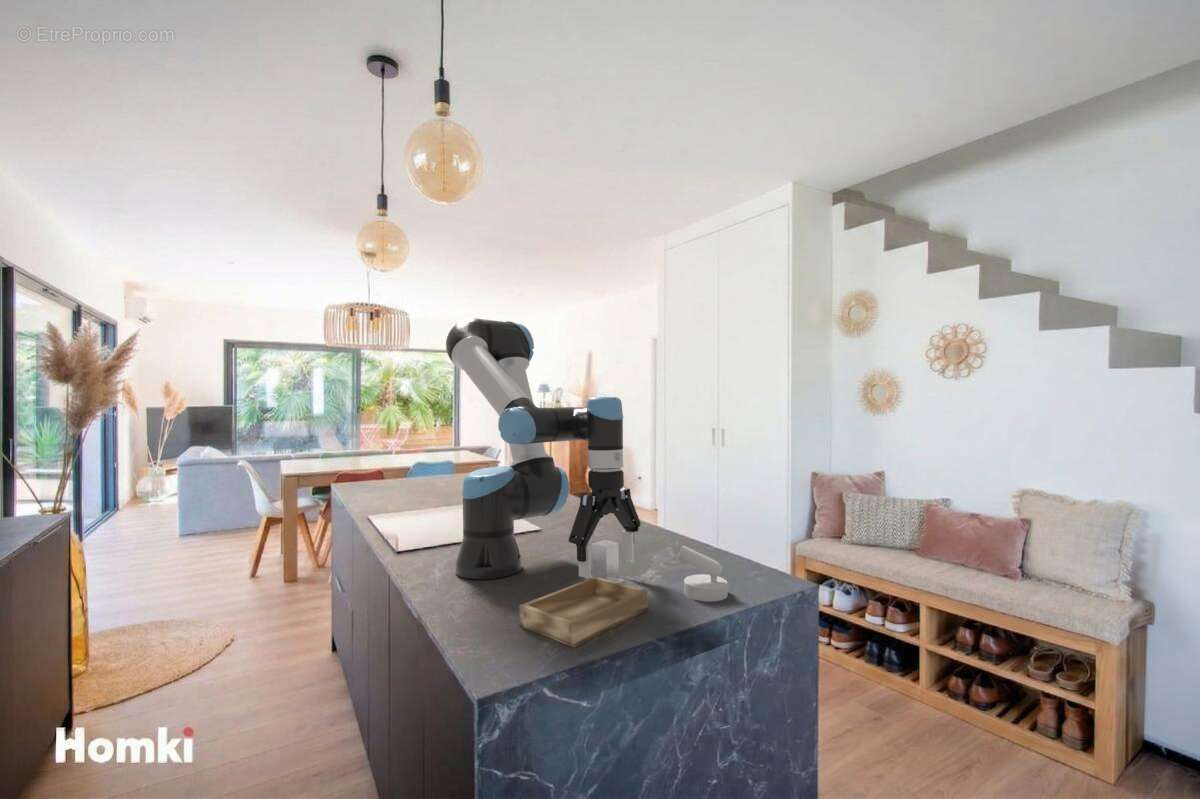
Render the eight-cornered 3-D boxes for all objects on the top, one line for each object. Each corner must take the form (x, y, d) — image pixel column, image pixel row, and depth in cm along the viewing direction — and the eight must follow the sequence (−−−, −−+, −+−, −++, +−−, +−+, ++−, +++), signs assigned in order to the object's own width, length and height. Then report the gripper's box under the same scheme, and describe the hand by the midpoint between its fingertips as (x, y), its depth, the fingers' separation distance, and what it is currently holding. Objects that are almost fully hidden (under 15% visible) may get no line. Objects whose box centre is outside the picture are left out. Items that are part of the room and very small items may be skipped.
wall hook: (677, 539, 112) (726, 541, 110) (678, 584, 111) (726, 587, 109) (675, 550, 103) (727, 553, 101) (675, 599, 103) (728, 603, 101)
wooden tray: (519, 625, 91) (519, 605, 91) (595, 593, 106) (595, 576, 106) (573, 647, 83) (573, 625, 83) (647, 609, 98) (647, 590, 98)
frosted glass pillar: (585, 584, 112) (584, 541, 112) (597, 579, 115) (597, 538, 115) (614, 592, 107) (613, 548, 107) (626, 587, 110) (625, 544, 110)
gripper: (577, 476, 100) (579, 588, 99) (654, 465, 119) (656, 558, 118) (550, 474, 104) (551, 580, 104) (628, 463, 124) (630, 553, 123)
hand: (607, 570), depth 111 cm, fingers open, 13 cm apart
